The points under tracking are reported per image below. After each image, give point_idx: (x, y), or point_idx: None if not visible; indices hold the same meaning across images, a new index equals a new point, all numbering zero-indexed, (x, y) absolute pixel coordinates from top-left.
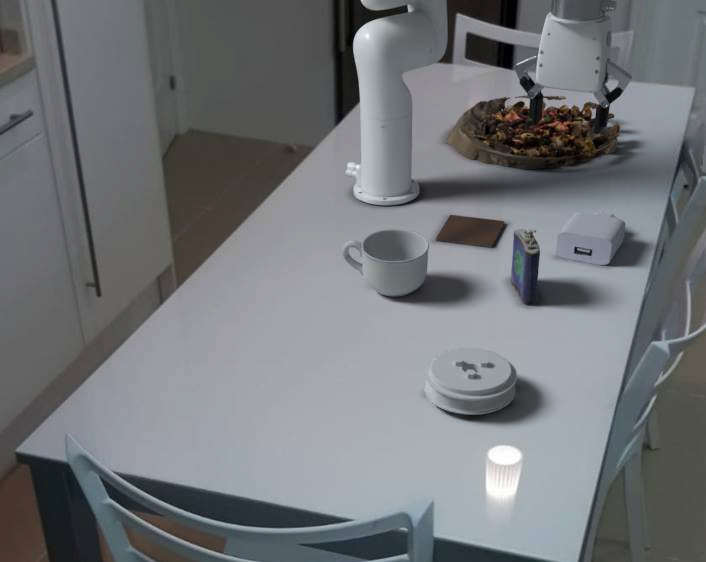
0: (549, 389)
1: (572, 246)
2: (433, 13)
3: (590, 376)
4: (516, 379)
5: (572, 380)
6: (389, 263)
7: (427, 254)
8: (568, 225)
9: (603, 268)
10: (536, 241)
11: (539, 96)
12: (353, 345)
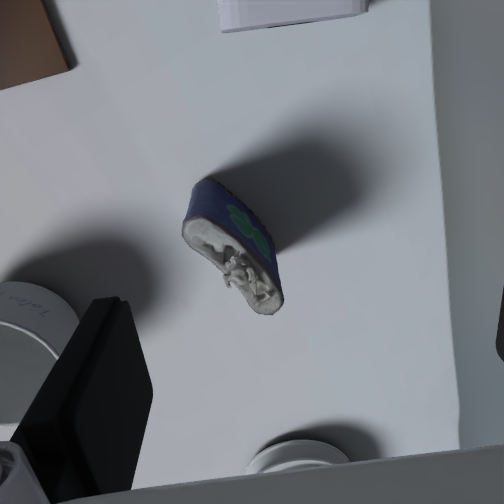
0: (380, 424)
1: (263, 27)
2: None
3: (421, 380)
4: None
5: (401, 397)
6: None
7: (61, 345)
8: None
9: (343, 32)
10: (255, 259)
11: (82, 495)
12: None
